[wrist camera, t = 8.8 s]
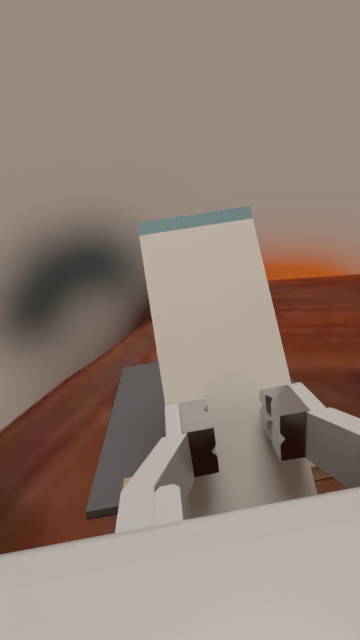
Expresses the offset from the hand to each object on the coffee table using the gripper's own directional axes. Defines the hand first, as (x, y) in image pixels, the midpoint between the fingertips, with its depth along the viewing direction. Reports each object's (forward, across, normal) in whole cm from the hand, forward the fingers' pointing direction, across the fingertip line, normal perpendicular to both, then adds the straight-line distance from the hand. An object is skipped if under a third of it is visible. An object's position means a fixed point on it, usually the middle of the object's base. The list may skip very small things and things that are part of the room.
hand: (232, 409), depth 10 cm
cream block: (0, 0, +6) cm, 7 cm away
